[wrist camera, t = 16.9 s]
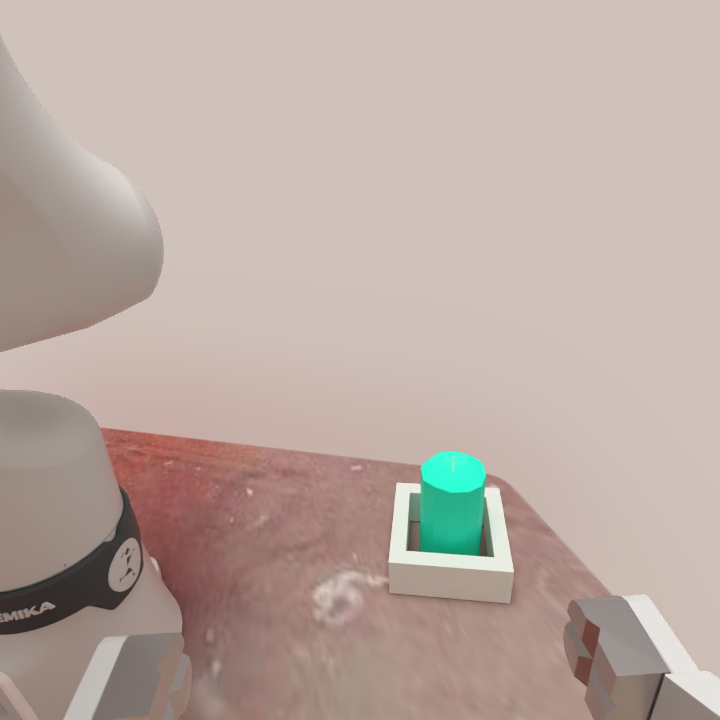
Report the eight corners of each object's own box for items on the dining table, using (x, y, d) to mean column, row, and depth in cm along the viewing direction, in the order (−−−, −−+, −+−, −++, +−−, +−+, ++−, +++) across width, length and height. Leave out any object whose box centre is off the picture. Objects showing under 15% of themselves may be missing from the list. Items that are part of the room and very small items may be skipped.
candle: (461, 525, 53) (466, 433, 48) (490, 567, 48) (500, 469, 43) (410, 539, 52) (410, 445, 46) (435, 584, 46) (438, 484, 41)
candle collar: (389, 593, 46) (388, 562, 44) (397, 510, 56) (396, 482, 54) (510, 603, 44) (514, 572, 42) (496, 516, 54) (498, 488, 52)
